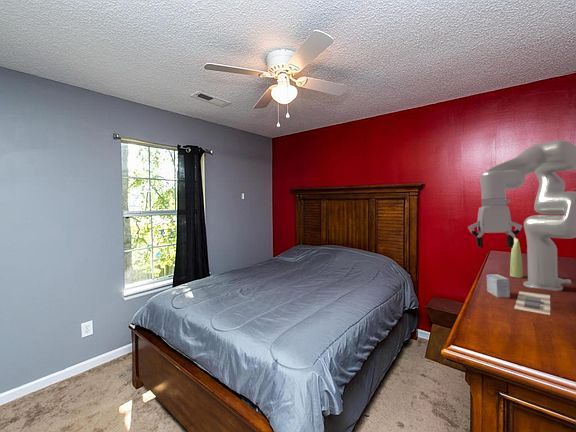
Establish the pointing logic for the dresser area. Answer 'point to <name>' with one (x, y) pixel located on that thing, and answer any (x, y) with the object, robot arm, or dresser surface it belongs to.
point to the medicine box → (498, 285)
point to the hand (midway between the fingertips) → (494, 247)
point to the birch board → (544, 298)
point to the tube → (516, 260)
